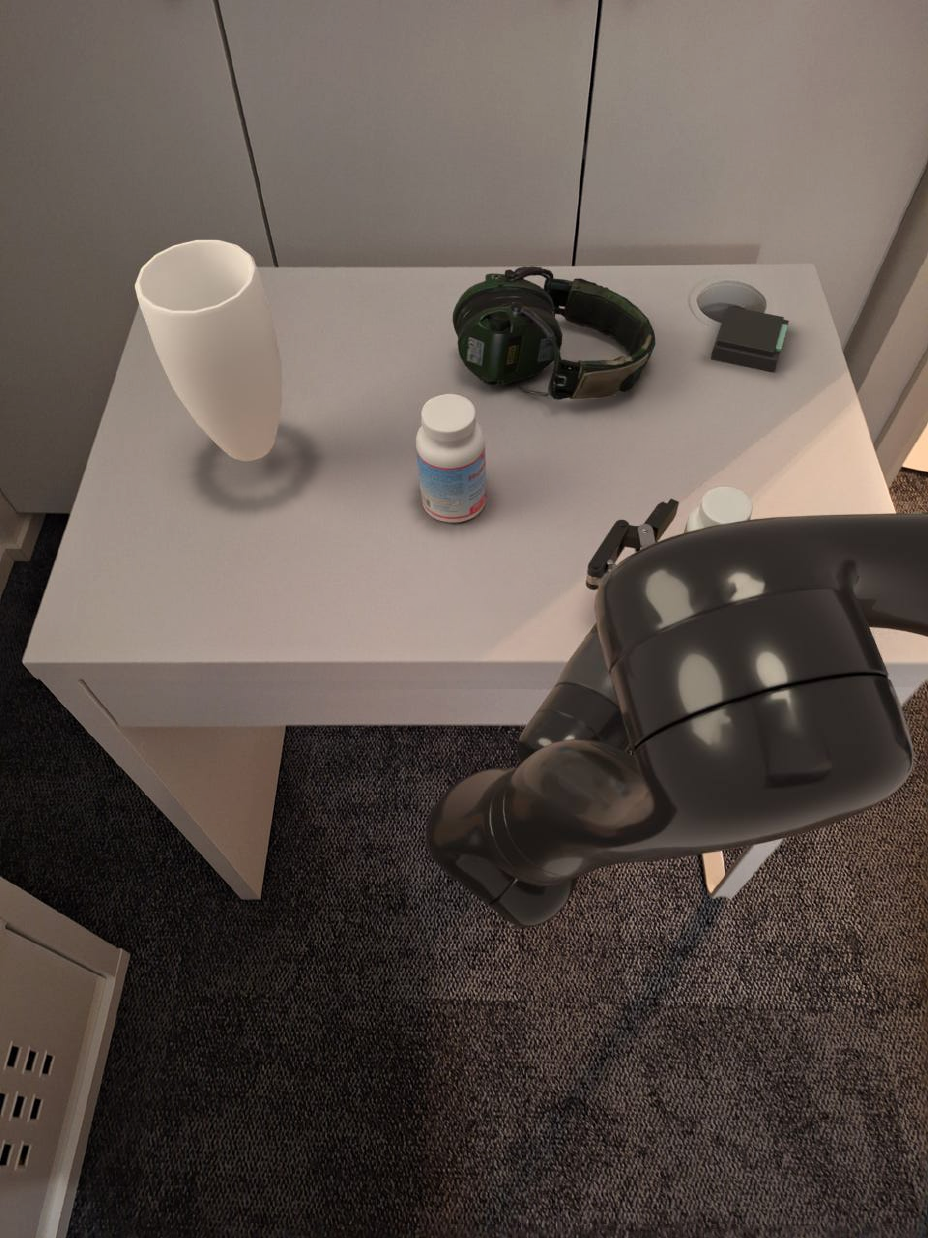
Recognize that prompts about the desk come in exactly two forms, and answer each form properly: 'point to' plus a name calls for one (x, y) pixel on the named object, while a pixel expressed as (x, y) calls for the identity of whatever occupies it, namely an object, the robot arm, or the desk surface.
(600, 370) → the headphones
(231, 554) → the desk surface
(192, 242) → the cup
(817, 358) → the desk surface
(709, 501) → the supplement bottle
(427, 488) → the pill bottle
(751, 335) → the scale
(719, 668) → the robot arm
